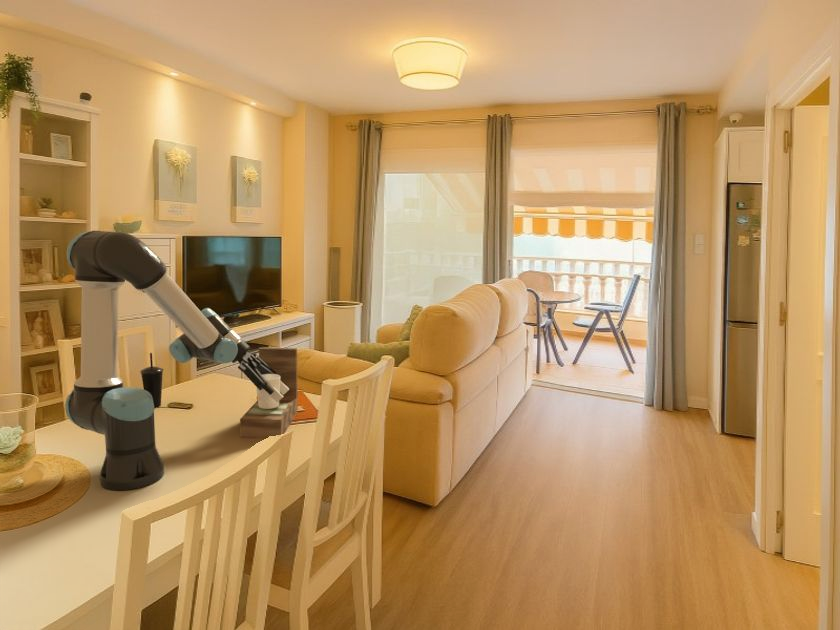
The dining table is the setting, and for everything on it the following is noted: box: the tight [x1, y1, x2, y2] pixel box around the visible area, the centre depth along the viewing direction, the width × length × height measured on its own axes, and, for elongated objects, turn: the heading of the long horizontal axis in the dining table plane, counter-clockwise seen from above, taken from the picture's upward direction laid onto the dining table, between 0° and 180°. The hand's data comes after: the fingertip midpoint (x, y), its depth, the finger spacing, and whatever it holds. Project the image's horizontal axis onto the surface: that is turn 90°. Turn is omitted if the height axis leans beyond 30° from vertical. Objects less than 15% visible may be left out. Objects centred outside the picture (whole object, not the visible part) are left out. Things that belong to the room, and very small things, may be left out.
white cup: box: [256, 374, 280, 409], centre depth 185 cm, size 8×8×10 cm
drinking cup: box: [139, 352, 164, 409], centre depth 203 cm, size 8×8×20 cm
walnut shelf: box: [239, 347, 299, 439], centre depth 187 cm, size 24×13×24 cm, turn 0°
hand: (283, 395), depth 186 cm, fingers closed on white cup, 7 cm apart
